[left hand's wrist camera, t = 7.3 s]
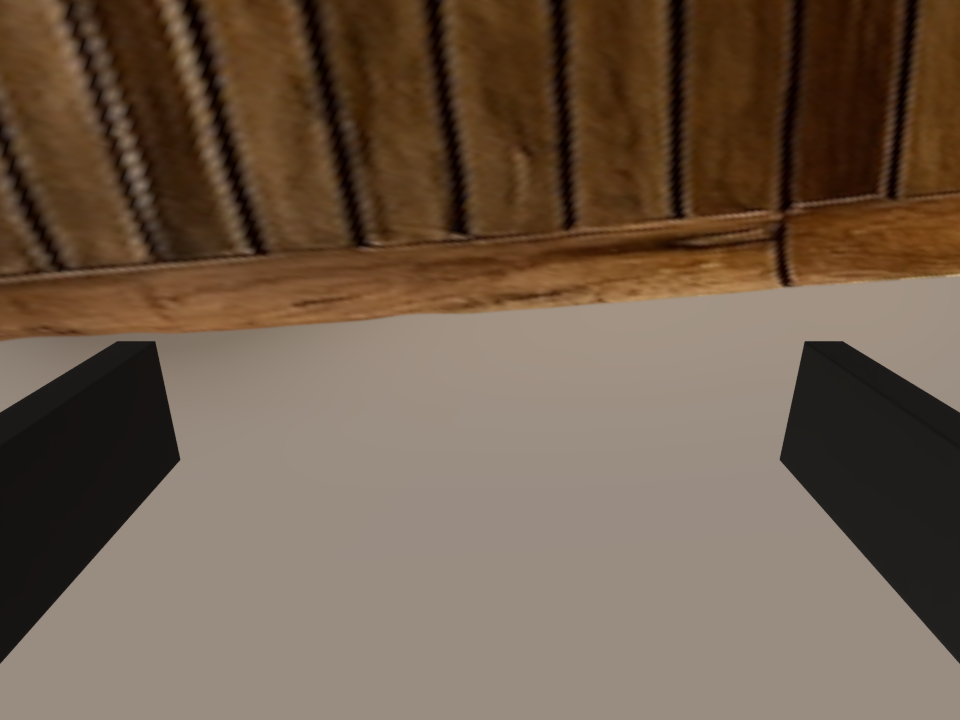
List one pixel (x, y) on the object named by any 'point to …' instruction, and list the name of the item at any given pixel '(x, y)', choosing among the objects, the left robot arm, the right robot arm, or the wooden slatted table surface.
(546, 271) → the wooden slatted table surface
